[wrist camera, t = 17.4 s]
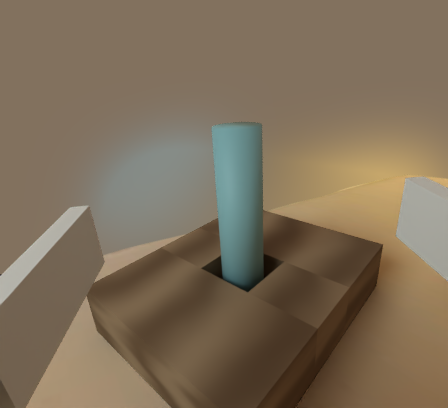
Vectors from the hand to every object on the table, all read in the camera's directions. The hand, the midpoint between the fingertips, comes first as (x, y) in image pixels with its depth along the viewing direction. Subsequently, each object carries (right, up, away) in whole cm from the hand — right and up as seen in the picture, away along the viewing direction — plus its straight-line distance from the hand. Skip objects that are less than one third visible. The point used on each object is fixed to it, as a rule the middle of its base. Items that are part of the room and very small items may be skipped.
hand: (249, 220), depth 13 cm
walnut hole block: (+1, -9, +14) cm, 17 cm away
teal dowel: (+1, -9, +14) cm, 17 cm away
